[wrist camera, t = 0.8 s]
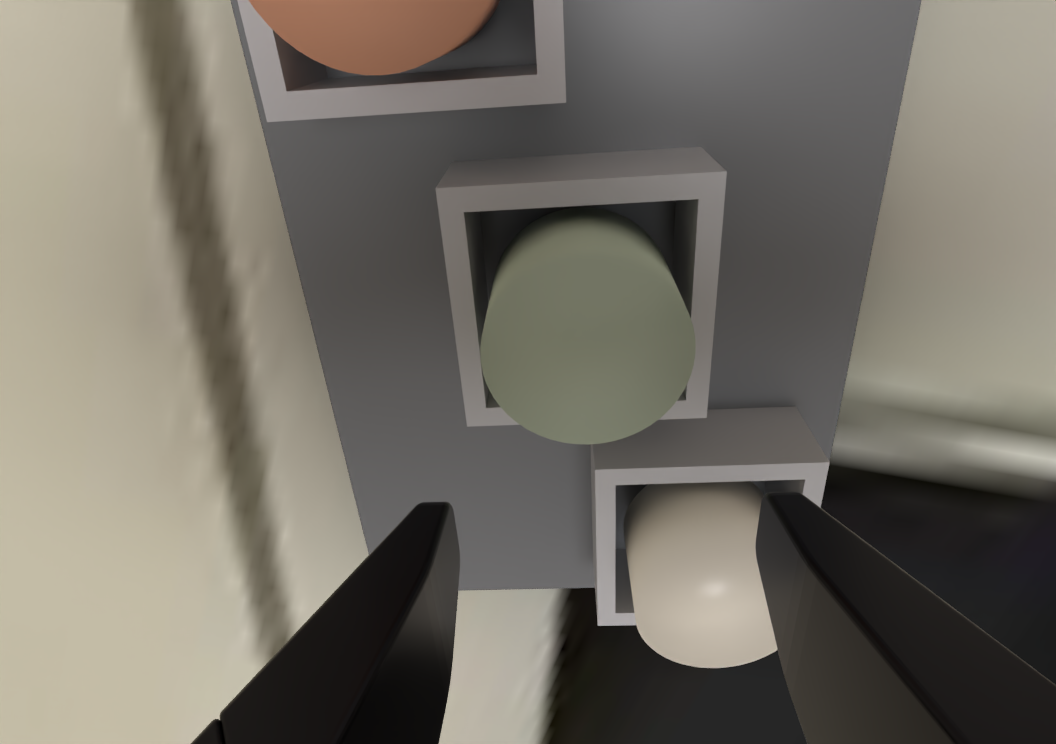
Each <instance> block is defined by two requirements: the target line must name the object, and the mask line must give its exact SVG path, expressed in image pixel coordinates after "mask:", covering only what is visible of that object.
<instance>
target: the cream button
mask: <svg viewBox="0 0 1056 744" xmlns="http://www.w3.org/2000/svg"><path fill="white" fill-rule="evenodd" d="M763 496H764V494H763V493H762V492H761V490H760V489H759V488H758V487H757V486H756V485H755V484H754V483H753V482H751V481H738V482H705V483H672V484H648V485H647V486H645V487H644V488H643V489H642V490H641V491H640V492H639V493H638V494H637V495H636V496H635V497H634V499H633V500H632V502H631V503H630V505H629V507H628V509H627V511H626V514H625V518H624V524H623V530H624V539H625V546H626V554H627V561H628V568H629V576H630V583H631V590H632V598H633V605H634V612H635V620H636V625H637V628H638V631H639V633H640V635H641V637H642V638H643V640H644V641H645V642H646V643H647V644H648V645H649V646H650V647H651V648H652V649H653V650H654V651H656V652H657V653H658V654H660V655H662V656H663V657H665V658H667V659H670V660H672V661H674V662H677V663H680V664H684V665H688V666H693V667H702V668H724V667H732V666H738V665H742V664H746V663H749V662H753V661H756V660H758V659H761V658H763V657H765V656H767V655H769V654H771V653H773V652H775V651H776V650H778V649H777V644H776V640H775V636H774V632H773V627H772V623H771V619H770V615H769V610H768V606H767V602H766V598H765V593H764V589H763V585H762V581H761V576H760V572H759V568H758V564H757V558H756V549H755V545H756V535H757V528H758V521H759V514H760V507H761V501H762V498H763Z"/></svg>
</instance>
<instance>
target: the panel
mask: <svg viewBox="0 0 1056 744" xmlns="http://www.w3.org/2000/svg"><path fill="white" fill-rule="evenodd" d="M231 4H232V8H233V12H234V16H235V20H236V24H237V28H238V32H239V36H240V40H241V44H242V48H243V52H244V56H245V60H246V64H247V68H248V72H249V76H250V80H251V84H252V88H253V92H254V96H255V100H256V104H257V108H258V112H259V116H260V120H261V124H262V128H263V132H264V136H265V140H266V144H267V148H268V152H269V156H270V160H271V164H272V168H273V172H274V176H275V180H276V184H277V188H278V192H279V196H280V200H281V204H282V208H283V212H284V216H285V220H286V224H287V228H288V232H289V236H290V240H291V244H292V248H293V252H294V256H295V260H296V264H297V268H298V272H299V276H300V280H301V284H302V288H303V292H304V296H305V300H306V304H307V308H308V312H309V316H310V320H311V324H312V328H313V332H314V336H315V340H316V344H317V348H318V352H319V356H320V360H321V364H322V368H323V372H324V376H325V380H326V384H327V388H328V392H329V396H330V400H331V404H332V408H333V412H334V416H335V420H336V424H337V428H338V432H339V436H340V440H341V444H342V448H343V452H344V456H345V460H346V464H347V468H348V472H349V476H350V480H351V484H352V488H353V492H354V496H355V500H356V504H357V508H358V512H359V516H360V520H361V524H362V528H363V532H364V536H365V540H366V544H367V548H368V552H369V555H370V554H371V553H372V552H373V551H374V549H375V548H376V547H377V546H378V545H379V544H380V543H381V542H382V541H383V540H384V539H385V538H386V537H387V536H388V535H389V534H390V532H391V531H392V530H393V529H394V528H395V527H396V526H397V525H398V524H399V523H400V522H401V521H402V520H403V519H404V518H405V517H406V516H407V514H408V513H409V512H410V511H411V510H412V509H413V508H414V507H415V506H416V505H418V504H419V503H422V502H449V503H450V504H451V505H452V507H453V511H454V517H455V523H456V529H457V536H458V542H459V549H460V574H459V586H458V590H502V589H549V588H595V594H596V607H597V621H598V626H610V625H636V620H635V612H634V605H633V598H632V590H631V583H630V576H629V568H628V561H627V554H626V546H625V539H624V530H623V524H624V518H625V514H626V511H627V509H628V507H629V505H630V503H631V502H632V500H633V499H634V497H635V496H636V495H637V494H638V493H639V492H640V491H641V490H642V489H643V488H644V487H645V486H647V485H648V484H672V483H705V482H738V481H751V482H753V483H754V484H755V485H756V486H757V487H758V488H759V489H760V490H761V492H762V493H763V494H764V495H765V494H767V493H768V492H791V491H794V492H799V493H801V494H803V495H804V496H806V497H807V498H808V499H810V500H811V501H812V502H814V503H815V504H816V505H818V506H819V507H820V508H821V503H822V498H823V493H824V488H825V483H826V478H827V473H828V468H829V463H830V462H829V461H830V456H831V451H832V446H833V441H834V436H835V431H836V426H837V421H838V416H839V411H840V406H841V401H842V396H843V391H844V386H845V381H846V376H847V371H848V366H849V361H850V356H851V351H852V346H853V341H854V336H855V331H856V326H857V321H858V316H859V311H860V306H861V301H862V296H863V291H864V285H865V280H866V275H867V270H868V265H869V260H870V255H871V250H872V245H873V240H874V235H875V230H876V225H877V220H878V215H879V210H880V205H881V200H882V195H883V190H884V185H885V180H886V175H887V170H888V165H889V160H890V155H891V150H892V145H893V140H894V135H895V130H896V125H897V120H898V115H899V110H900V105H901V100H902V95H903V90H904V85H905V80H906V75H907V70H908V65H909V60H910V55H911V50H912V45H913V40H914V35H915V30H916V25H917V20H918V15H919V10H920V5H921V0H500V2H499V4H498V6H497V8H496V10H495V11H494V13H493V14H492V16H491V17H490V19H489V20H488V22H487V23H486V24H485V25H484V26H483V28H482V29H481V30H480V31H479V32H478V33H477V34H476V35H475V36H474V37H473V38H472V39H470V40H469V41H468V42H467V43H465V44H464V45H462V46H461V47H459V48H458V49H456V50H454V51H452V52H450V53H448V54H445V55H443V56H441V57H439V58H437V59H434V60H432V61H430V62H428V63H425V64H423V65H421V66H419V67H417V68H414V69H411V70H407V71H404V72H401V73H395V74H388V75H361V74H354V73H348V72H344V71H341V70H337V69H334V68H331V67H328V66H326V65H324V64H321V63H319V62H317V61H315V60H313V59H311V58H309V57H308V56H306V55H304V54H303V53H301V52H299V51H298V50H296V49H295V48H294V47H292V46H291V45H290V44H289V43H287V42H286V41H285V40H283V39H282V38H281V37H280V36H279V35H278V34H277V33H276V32H275V31H274V30H273V29H272V28H271V27H270V26H269V25H268V24H267V23H266V22H265V21H264V20H263V19H262V17H261V16H260V15H259V14H258V13H257V11H256V10H255V9H254V8H253V6H252V5H251V3H250V2H249V0H231ZM577 207H591V208H599V209H604V210H608V211H612V212H615V213H617V214H620V215H622V216H624V217H626V218H628V219H630V220H631V221H633V222H635V223H636V224H638V225H639V226H640V227H641V228H642V229H644V230H645V231H646V232H647V233H648V234H649V235H650V236H651V238H652V239H653V240H654V241H655V243H656V244H657V246H658V247H659V249H660V251H661V253H662V255H663V257H664V259H665V261H666V263H667V265H668V268H669V270H670V272H671V274H672V277H673V279H674V281H675V283H676V286H677V288H678V290H679V292H680V295H681V297H682V299H683V301H684V304H685V306H686V308H687V310H688V313H689V315H690V318H691V321H692V324H693V327H694V334H695V342H696V353H695V360H694V366H693V369H692V373H691V376H690V379H689V381H688V383H687V385H686V387H685V389H684V391H683V392H682V394H681V396H680V397H679V399H678V400H677V401H676V402H675V404H674V405H673V406H672V407H671V409H670V410H668V411H667V412H666V413H665V414H664V415H663V416H662V417H661V418H660V419H658V420H657V421H656V422H654V423H653V424H652V425H650V426H648V427H647V428H645V429H643V430H642V431H640V432H638V433H635V434H633V435H631V436H628V437H626V438H622V439H619V440H616V441H612V442H607V443H601V444H570V443H563V442H559V441H555V440H551V439H548V438H545V437H542V436H539V435H537V434H535V433H533V432H531V431H529V430H527V429H526V428H524V427H523V426H521V425H520V424H518V423H517V422H516V421H514V420H513V419H512V418H511V417H510V416H508V415H507V414H506V412H505V411H504V410H503V409H502V408H501V407H500V406H499V404H498V403H497V402H496V400H495V399H494V397H493V396H492V394H491V392H490V390H489V388H488V386H487V384H486V381H485V378H484V375H483V371H482V366H481V356H480V347H481V338H482V332H483V328H484V323H485V318H486V314H487V309H488V304H489V300H490V295H491V290H492V286H493V281H494V276H495V273H496V269H497V266H498V263H499V261H500V258H501V256H502V254H503V253H504V251H505V249H506V248H507V246H508V245H509V244H510V242H511V241H512V240H513V239H514V237H515V236H516V235H517V234H518V233H519V232H521V231H522V230H523V229H524V228H525V227H527V226H528V225H529V224H531V223H532V222H534V221H535V220H537V219H539V218H541V217H543V216H545V215H548V214H550V213H553V212H556V211H560V210H563V209H569V208H577Z"/></svg>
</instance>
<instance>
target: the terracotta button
mask: <svg viewBox="0 0 1056 744" xmlns="http://www.w3.org/2000/svg"><path fill="white" fill-rule="evenodd" d="M249 2H250V3H251V5H252V6H253V8H254V9H255V10H256V11H257V13H258V14H259V15H260V16H261V17H262V19H263V20H264V21H265V22H266V23H267V24H268V25H269V26H270V27H271V28H272V29H273V30H274V31H275V32H276V33H277V34H278V35H279V36H280V37H281V38H282V39H283V40H285V41H286V42H287V43H289V44H290V45H291V46H292V47H294V48H295V49H296V50H298V51H299V52H301V53H303V54H304V55H306V56H308V57H309V58H311V59H313V60H315V61H317V62H319V63H321V64H324V65H326V66H328V67H331V68H334V69H337V70H341V71H344V72H348V73H354V74H361V75H388V74H395V73H401V72H404V71H407V70H411V69H414V68H417V67H419V66H421V65H423V64H425V63H428V62H430V61H432V60H434V59H437V58H439V57H441V56H443V55H445V54H448V53H450V52H452V51H454V50H456V49H458V48H459V47H461V46H462V45H464V44H465V43H467V42H468V41H469V40H470V39H472V38H473V37H474V36H475V35H476V34H477V33H478V32H479V31H480V30H481V29H482V28H483V26H484V25H485V24H486V23H487V22H488V20H489V19H490V17H491V16H492V14H493V13H494V11H495V10H496V8H497V6H498V4H499V2H500V0H249Z"/></svg>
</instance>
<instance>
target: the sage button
mask: <svg viewBox="0 0 1056 744" xmlns="http://www.w3.org/2000/svg"><path fill="white" fill-rule="evenodd" d="M695 353H696V342H695V334H694V327H693V324H692V321H691V318H690V315H689V313H688V310H687V308H686V306H685V304H684V301H683V299H682V297H681V295H680V292H679V290H678V288H677V286H676V283H675V281H674V279H673V277H672V274H671V272H670V270H669V268H668V265H667V263H666V261H665V259H664V257H663V255H662V253H661V251H660V249H659V247H658V246H657V244H656V243H655V241H654V240H653V239H652V238H651V236H650V235H649V234H648V233H647V232H646V231H645V230H644V229H642V228H641V227H640V226H639V225H638V224H636V223H635V222H633V221H631V220H630V219H628V218H626V217H624V216H622V215H620V214H617V213H615V212H612V211H608V210H604V209H599V208H591V207H577V208H569V209H563V210H560V211H556V212H553V213H550V214H548V215H545V216H543V217H541V218H539V219H537V220H535V221H534V222H532V223H531V224H529V225H528V226H527V227H525V228H524V229H523V230H522V231H521V232H519V233H518V234H517V235H516V236H515V237H514V239H513V240H512V241H511V242H510V244H509V245H508V246H507V248H506V249H505V251H504V253H503V254H502V256H501V258H500V261H499V263H498V266H497V269H496V273H495V276H494V281H493V286H492V290H491V295H490V300H489V304H488V309H487V314H486V318H485V323H484V328H483V332H482V338H481V347H480V356H481V366H482V371H483V375H484V378H485V381H486V384H487V386H488V388H489V390H490V392H491V394H492V396H493V397H494V399H495V400H496V402H497V403H498V404H499V406H500V407H501V408H502V409H503V410H504V411H505V412H506V414H507V415H508V416H510V417H511V418H512V419H513V420H514V421H516V422H517V423H518V424H520V425H521V426H523V427H524V428H526V429H527V430H529V431H531V432H533V433H535V434H537V435H539V436H542V437H545V438H548V439H551V440H555V441H559V442H563V443H570V444H601V443H607V442H612V441H616V440H619V439H622V438H626V437H628V436H631V435H633V434H635V433H638V432H640V431H642V430H643V429H645V428H647V427H648V426H650V425H652V424H653V423H654V422H656V421H657V420H658V419H660V418H661V417H662V416H663V415H664V414H665V413H666V412H667V411H668V410H670V409H671V407H672V406H673V405H674V404H675V402H676V401H677V400H678V399H679V397H680V396H681V394H682V392H683V391H684V389H685V387H686V385H687V383H688V381H689V379H690V376H691V373H692V369H693V366H694V360H695Z"/></svg>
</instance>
